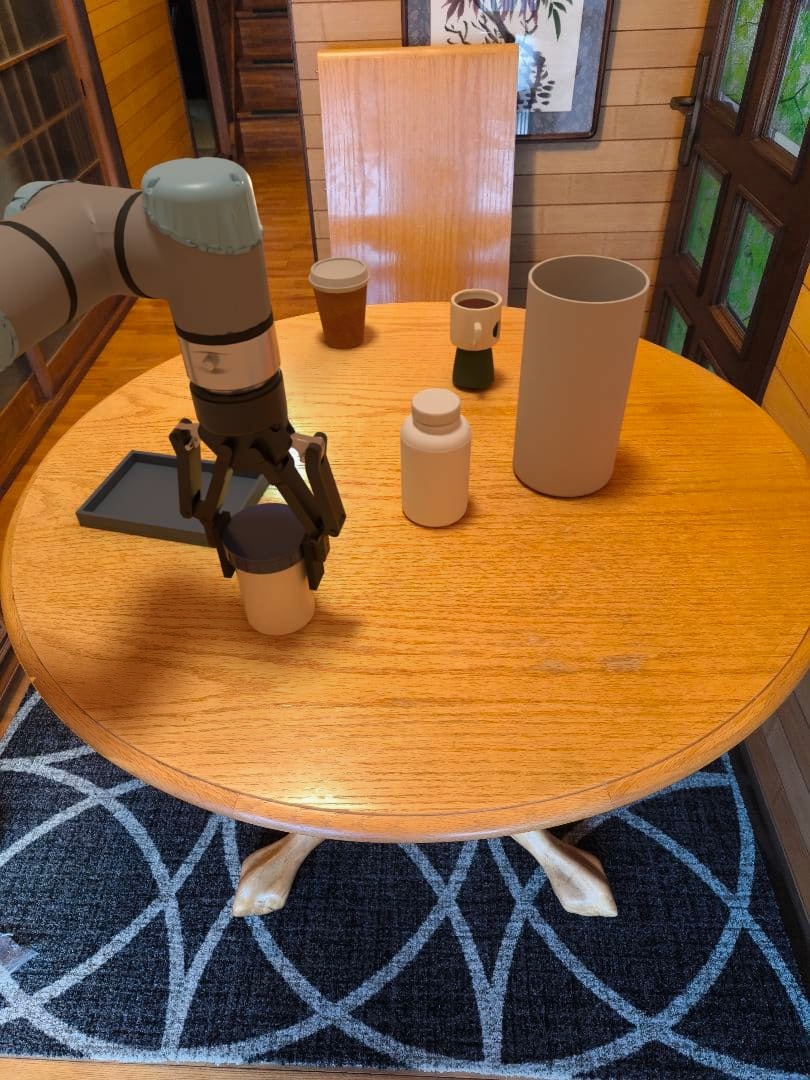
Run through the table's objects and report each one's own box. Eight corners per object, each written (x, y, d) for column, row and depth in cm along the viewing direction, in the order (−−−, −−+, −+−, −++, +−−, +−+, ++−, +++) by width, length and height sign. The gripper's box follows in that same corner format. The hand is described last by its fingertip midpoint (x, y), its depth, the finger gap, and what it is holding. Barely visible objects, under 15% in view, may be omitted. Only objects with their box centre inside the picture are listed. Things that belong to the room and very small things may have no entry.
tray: (79, 525, 91) (74, 512, 90) (135, 461, 101) (131, 449, 99) (227, 549, 87) (224, 536, 86) (271, 481, 97) (269, 468, 95)
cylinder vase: (566, 431, 103) (591, 246, 87) (633, 477, 95) (675, 283, 79) (492, 461, 98) (504, 272, 82) (556, 513, 90) (584, 314, 74)
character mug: (500, 401, 109) (506, 315, 101) (450, 402, 110) (452, 317, 101) (493, 363, 118) (498, 281, 109) (447, 364, 118) (449, 282, 109)
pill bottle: (447, 537, 88) (449, 427, 78) (389, 515, 91) (383, 406, 81) (480, 500, 93) (485, 392, 83) (423, 480, 96) (422, 374, 86)
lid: (210, 568, 71) (206, 553, 70) (243, 512, 78) (240, 497, 76) (295, 580, 70) (293, 565, 69) (322, 522, 76) (320, 507, 75)
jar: (235, 629, 78) (215, 552, 71) (262, 580, 83) (246, 505, 76) (301, 641, 77) (288, 564, 70) (324, 591, 82) (314, 515, 75)
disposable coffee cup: (325, 358, 120) (317, 284, 112) (308, 332, 127) (300, 261, 119) (381, 346, 123) (378, 273, 115) (362, 322, 129) (358, 251, 121)
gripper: (93, 385, 61) (161, 586, 76) (348, 409, 57) (366, 616, 72) (137, 341, 66) (192, 537, 81) (373, 361, 62) (385, 563, 77)
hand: (274, 574), depth 76 cm, fingers closed on lid, 8 cm apart
